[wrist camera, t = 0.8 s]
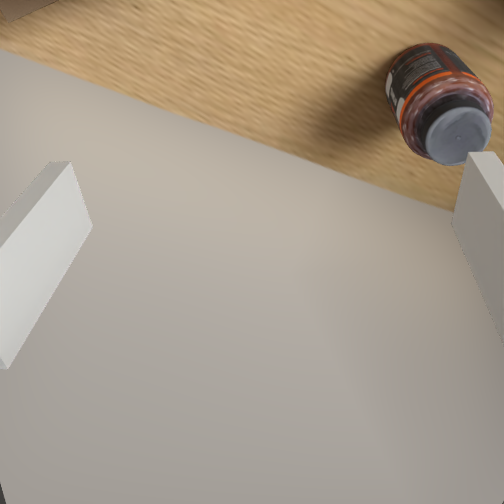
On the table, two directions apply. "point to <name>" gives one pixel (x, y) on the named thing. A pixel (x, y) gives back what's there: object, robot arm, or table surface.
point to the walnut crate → (21, 7)
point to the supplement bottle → (439, 104)
